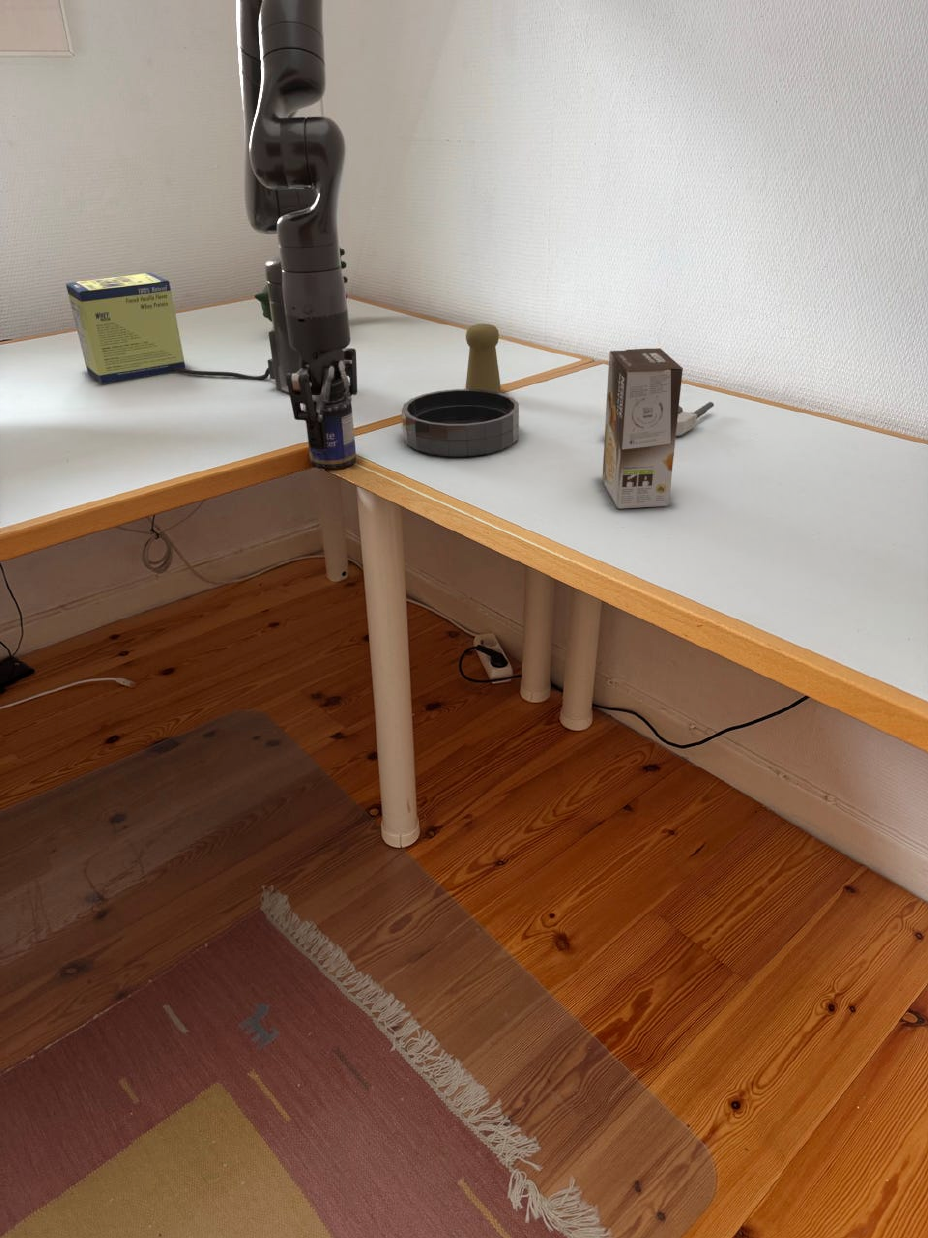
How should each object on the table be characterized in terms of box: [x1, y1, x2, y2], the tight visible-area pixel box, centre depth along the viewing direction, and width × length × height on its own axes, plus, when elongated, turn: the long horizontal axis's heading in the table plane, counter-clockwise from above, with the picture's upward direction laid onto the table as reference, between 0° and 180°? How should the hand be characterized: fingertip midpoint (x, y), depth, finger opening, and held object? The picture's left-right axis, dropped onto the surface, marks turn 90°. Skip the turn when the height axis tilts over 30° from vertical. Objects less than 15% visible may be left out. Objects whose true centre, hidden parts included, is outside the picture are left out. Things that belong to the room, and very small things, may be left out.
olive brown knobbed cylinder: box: [464, 323, 502, 393], centre depth 135 cm, size 6×6×11 cm
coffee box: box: [601, 347, 684, 510], centre depth 99 cm, size 9×6×16 cm
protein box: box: [65, 272, 187, 385], centre depth 152 cm, size 10×16×16 cm
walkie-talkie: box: [676, 401, 715, 437], centre depth 121 cm, size 9×4×20 cm
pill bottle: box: [305, 378, 357, 471], centre depth 111 cm, size 6×6×11 cm
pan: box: [401, 388, 520, 458], centre depth 120 cm, size 16×16×5 cm
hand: (331, 439), depth 112 cm, fingers closed on pill bottle, 6 cm apart
